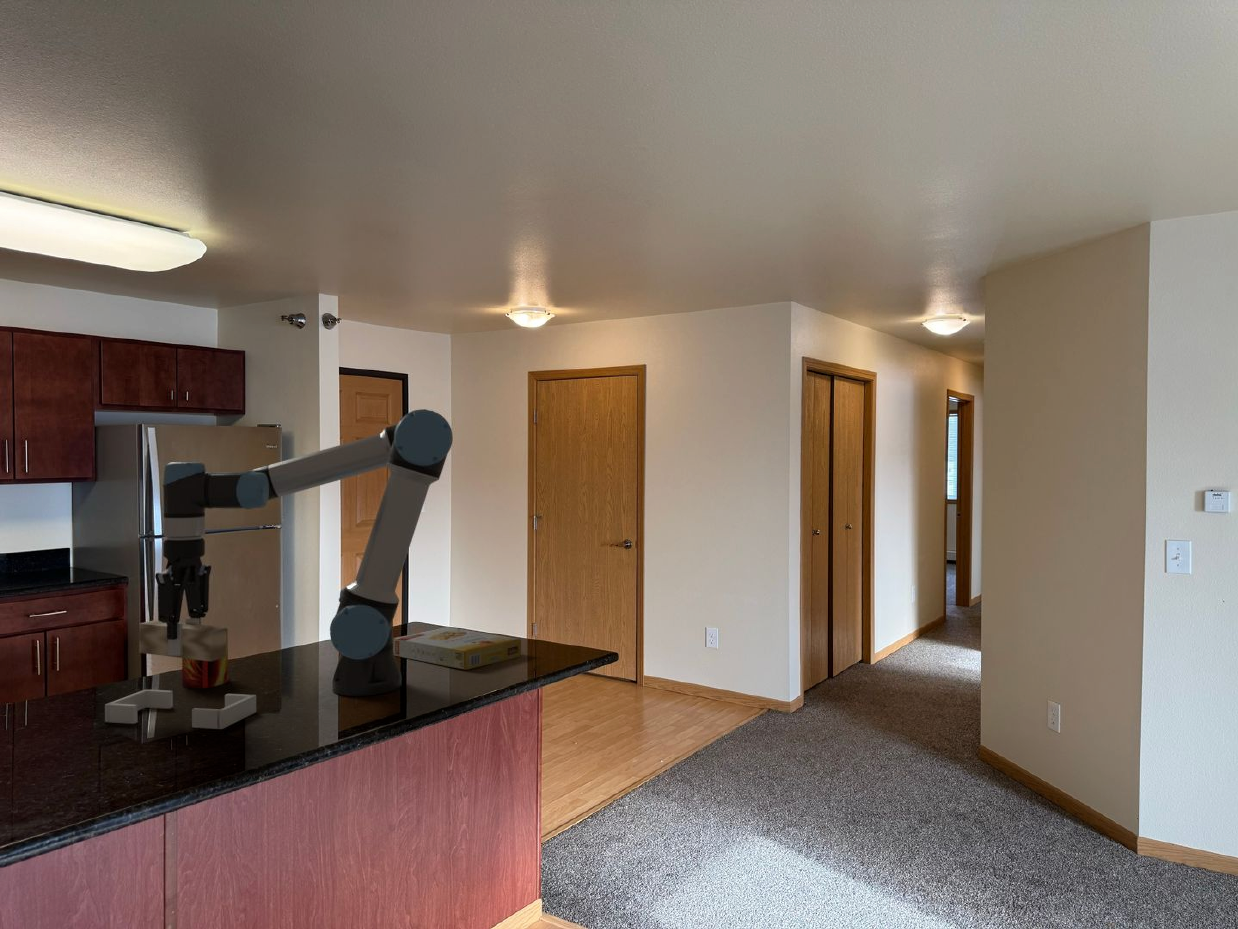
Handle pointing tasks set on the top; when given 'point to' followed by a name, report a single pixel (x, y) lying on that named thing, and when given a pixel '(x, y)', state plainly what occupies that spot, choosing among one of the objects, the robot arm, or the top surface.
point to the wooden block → (184, 641)
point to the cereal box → (457, 647)
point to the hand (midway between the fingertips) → (184, 652)
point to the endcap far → (137, 705)
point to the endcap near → (225, 712)
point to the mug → (205, 671)
